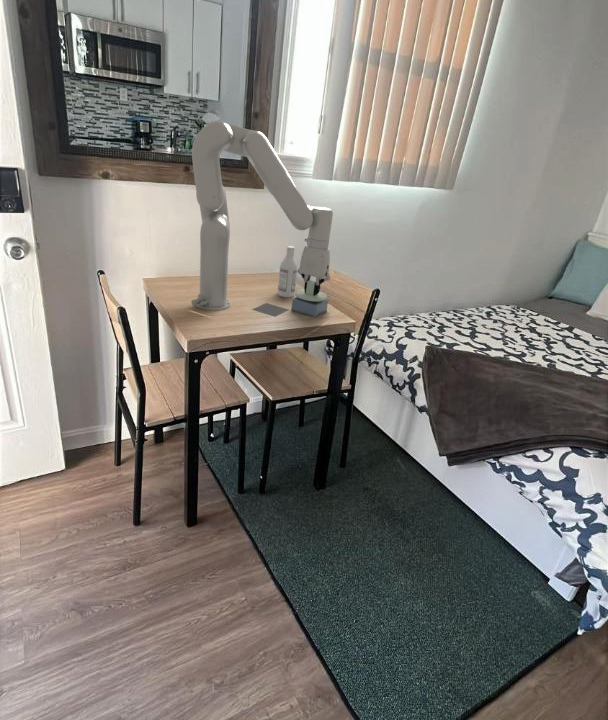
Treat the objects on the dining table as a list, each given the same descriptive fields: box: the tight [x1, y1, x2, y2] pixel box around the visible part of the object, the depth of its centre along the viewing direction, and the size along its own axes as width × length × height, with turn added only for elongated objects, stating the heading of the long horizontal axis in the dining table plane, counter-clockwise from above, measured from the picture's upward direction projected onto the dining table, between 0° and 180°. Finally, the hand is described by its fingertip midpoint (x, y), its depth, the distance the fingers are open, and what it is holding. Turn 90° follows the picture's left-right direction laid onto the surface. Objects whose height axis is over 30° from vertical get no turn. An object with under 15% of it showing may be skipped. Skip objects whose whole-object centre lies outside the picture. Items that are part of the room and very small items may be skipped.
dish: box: [291, 296, 329, 318], centre depth 170 cm, size 10×10×5 cm
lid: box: [294, 278, 328, 302], centre depth 167 cm, size 12×12×6 cm
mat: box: [251, 302, 290, 317], centre depth 167 cm, size 10×10×1 cm
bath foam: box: [277, 245, 298, 298], centre depth 181 cm, size 7×7×20 cm
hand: (311, 292), depth 168 cm, fingers closed on lid, 3 cm apart
